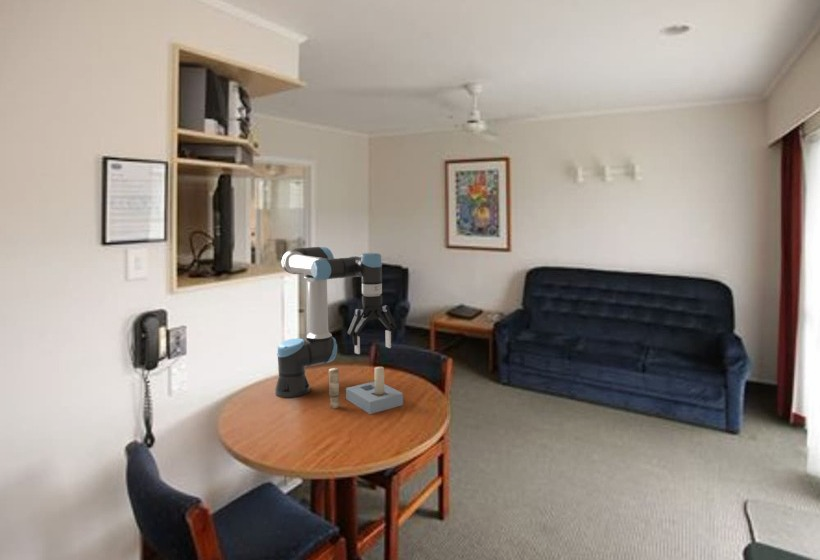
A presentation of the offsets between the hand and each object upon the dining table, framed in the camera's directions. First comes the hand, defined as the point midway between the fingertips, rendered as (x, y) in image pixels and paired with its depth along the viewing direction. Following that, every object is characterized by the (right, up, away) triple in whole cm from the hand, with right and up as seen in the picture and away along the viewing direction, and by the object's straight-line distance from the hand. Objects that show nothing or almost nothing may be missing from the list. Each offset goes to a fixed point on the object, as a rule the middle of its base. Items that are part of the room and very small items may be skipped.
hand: (373, 350), depth 182 cm
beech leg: (-17, -26, +17) cm, 36 cm away
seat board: (-1, -25, +22) cm, 34 cm away
